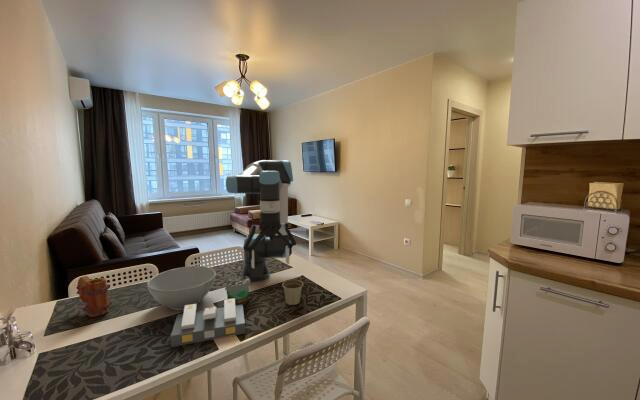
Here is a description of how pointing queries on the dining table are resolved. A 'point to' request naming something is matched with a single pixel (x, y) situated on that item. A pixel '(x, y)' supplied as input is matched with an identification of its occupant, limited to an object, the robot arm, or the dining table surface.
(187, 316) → the block
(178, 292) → the decorative bowl
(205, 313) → the rocker
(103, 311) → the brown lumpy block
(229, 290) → the food container
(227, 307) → the block
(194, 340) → the switch unit
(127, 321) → the dining table surface
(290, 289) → the flower pot
